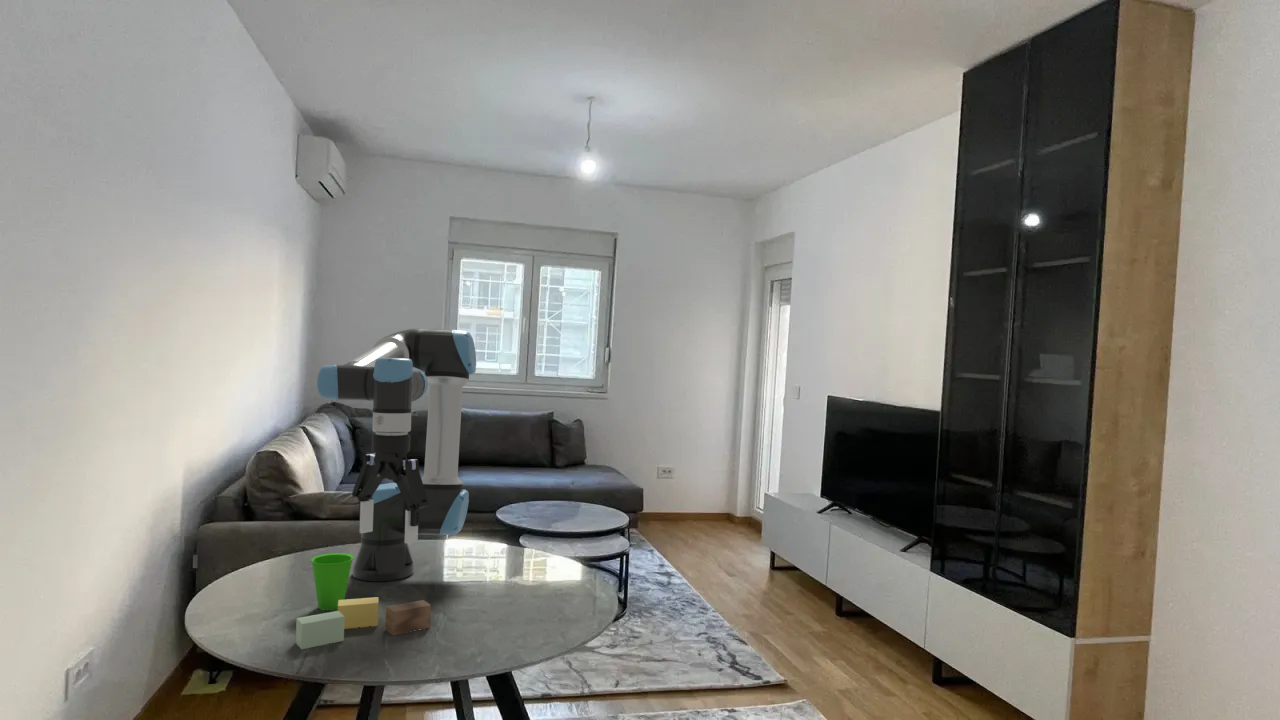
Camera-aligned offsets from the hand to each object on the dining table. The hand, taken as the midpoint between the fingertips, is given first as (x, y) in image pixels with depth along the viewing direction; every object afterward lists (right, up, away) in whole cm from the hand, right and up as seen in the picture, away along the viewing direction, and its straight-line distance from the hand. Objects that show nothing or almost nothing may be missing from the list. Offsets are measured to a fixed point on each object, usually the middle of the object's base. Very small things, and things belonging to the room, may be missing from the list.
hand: (388, 537), depth 154 cm
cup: (-18, -20, +16) cm, 31 cm away
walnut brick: (+3, -20, +4) cm, 21 cm away
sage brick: (-12, -20, -4) cm, 24 cm away
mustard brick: (-8, -20, +6) cm, 22 cm away
